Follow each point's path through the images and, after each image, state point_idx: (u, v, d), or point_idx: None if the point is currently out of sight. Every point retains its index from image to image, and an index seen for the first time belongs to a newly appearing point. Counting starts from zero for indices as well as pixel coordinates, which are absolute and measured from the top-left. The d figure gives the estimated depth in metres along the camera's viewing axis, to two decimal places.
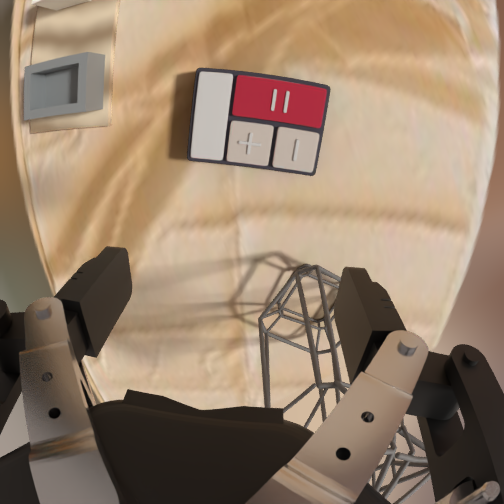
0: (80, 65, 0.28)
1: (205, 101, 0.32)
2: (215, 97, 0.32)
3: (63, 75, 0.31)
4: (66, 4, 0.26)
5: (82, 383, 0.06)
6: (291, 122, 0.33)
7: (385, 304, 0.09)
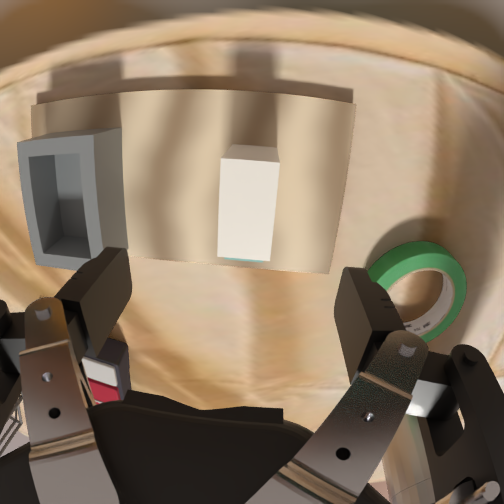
0: (87, 261, 0.22)
1: (87, 365, 0.30)
2: (93, 371, 0.31)
3: None
4: None
5: (82, 383, 0.06)
6: None
7: (385, 304, 0.09)
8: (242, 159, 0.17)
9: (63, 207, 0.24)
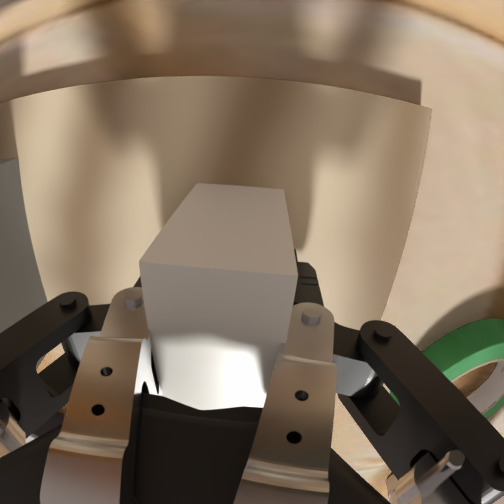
0: None
1: None
2: None
3: None
4: None
5: (146, 385, 0.06)
6: None
7: (309, 281, 0.10)
8: (195, 264, 0.06)
9: None
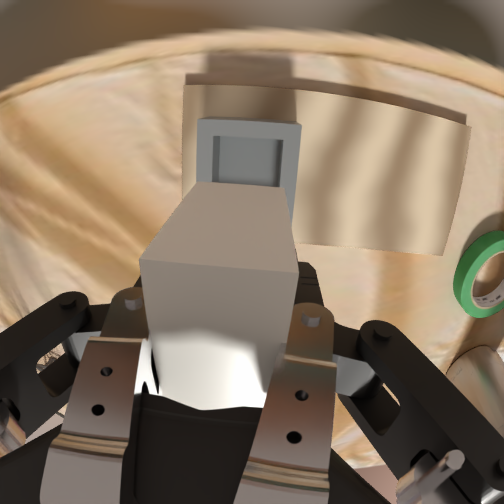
0: None
1: None
2: None
3: (269, 172, 0.26)
4: None
5: (146, 385, 0.06)
6: None
7: (309, 281, 0.10)
8: (196, 261, 0.06)
9: None
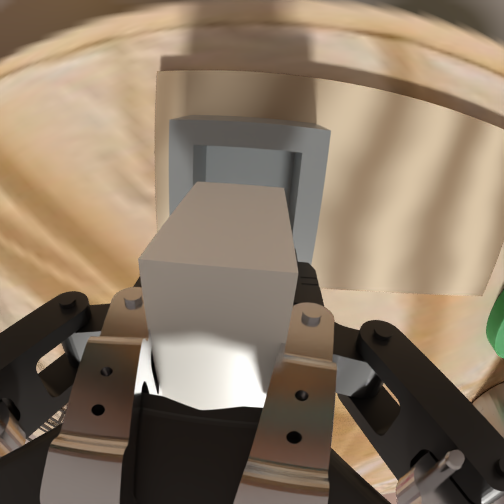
0: None
1: None
2: None
3: None
4: None
5: (147, 385, 0.06)
6: None
7: (309, 281, 0.10)
8: (195, 261, 0.06)
9: None
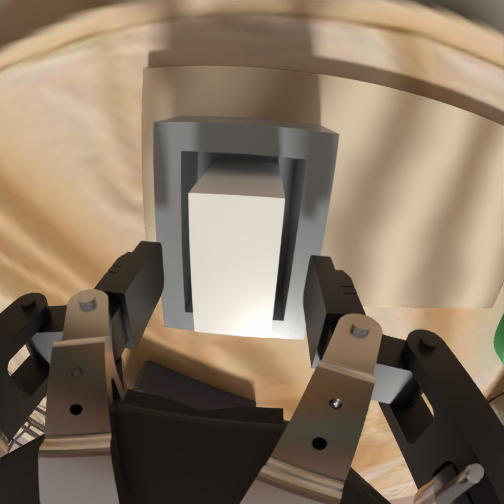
0: (275, 324, 0.16)
1: None
2: None
3: None
4: None
5: (114, 381, 0.06)
6: None
7: (347, 290, 0.10)
8: (223, 193, 0.10)
9: None
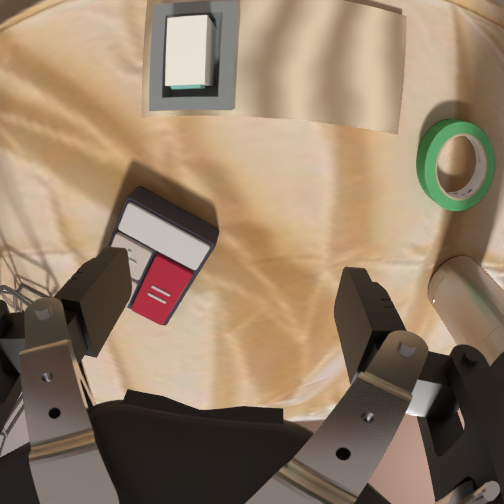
0: (213, 99, 0.25)
1: (177, 239, 0.33)
2: (178, 247, 0.34)
3: (216, 50, 0.26)
4: None
5: (82, 383, 0.06)
6: (139, 293, 0.37)
7: (385, 304, 0.09)
8: (182, 17, 0.19)
9: None
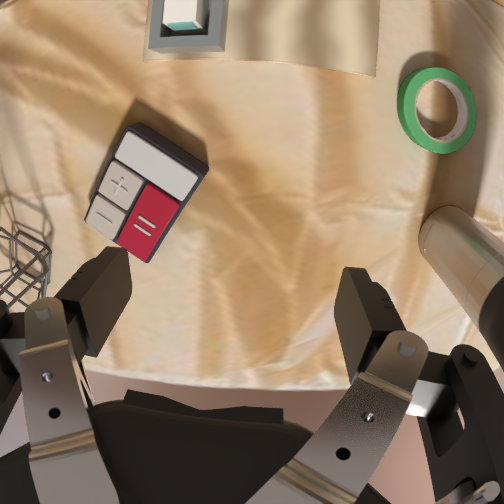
0: (203, 37, 0.26)
1: (168, 168, 0.34)
2: (168, 177, 0.35)
3: (209, 4, 0.27)
4: None
5: (82, 383, 0.06)
6: (125, 225, 0.38)
7: (385, 304, 0.09)
8: None
9: None
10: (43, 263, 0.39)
